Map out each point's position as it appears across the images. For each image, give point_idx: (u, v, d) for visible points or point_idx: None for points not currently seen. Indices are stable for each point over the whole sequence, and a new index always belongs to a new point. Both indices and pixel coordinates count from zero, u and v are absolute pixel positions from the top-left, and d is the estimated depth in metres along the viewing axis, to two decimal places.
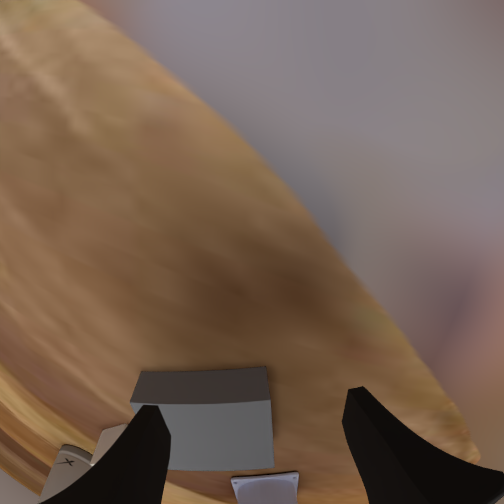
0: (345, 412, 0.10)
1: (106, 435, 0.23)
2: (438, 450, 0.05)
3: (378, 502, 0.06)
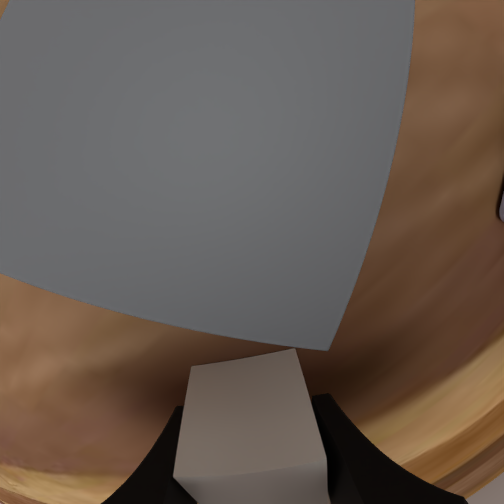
0: None
1: None
2: (397, 467, 0.05)
3: None
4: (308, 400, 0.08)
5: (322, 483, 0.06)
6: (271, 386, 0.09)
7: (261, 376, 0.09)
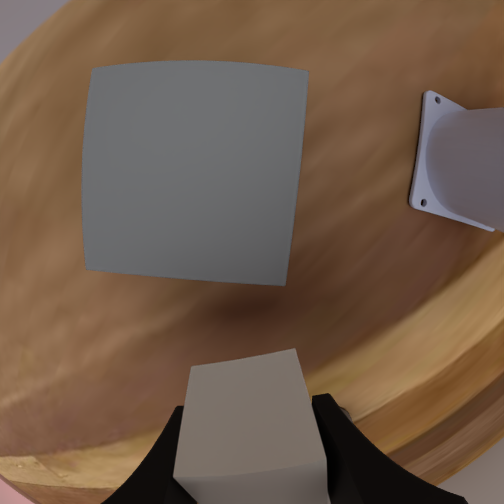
0: None
1: None
2: (397, 467, 0.05)
3: None
4: (308, 400, 0.08)
5: (322, 483, 0.06)
6: (271, 386, 0.09)
7: (261, 376, 0.09)
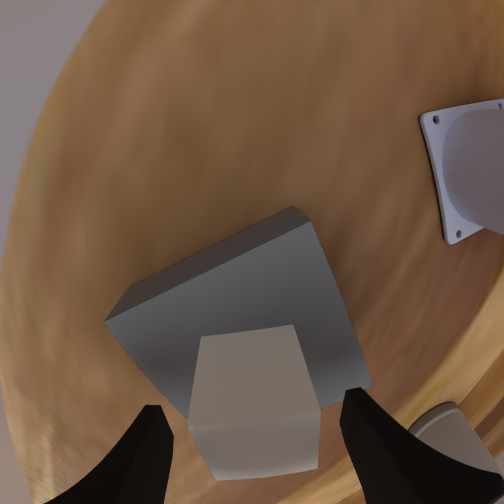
0: (342, 413, 0.10)
1: None
2: (435, 451, 0.05)
3: (375, 503, 0.06)
4: (304, 364, 0.10)
5: (315, 439, 0.08)
6: (272, 353, 0.11)
7: (264, 345, 0.11)
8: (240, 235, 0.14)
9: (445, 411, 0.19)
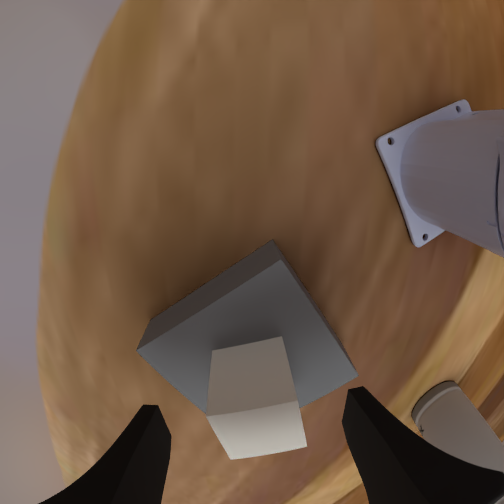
0: (345, 412, 0.10)
1: None
2: (438, 450, 0.05)
3: (378, 502, 0.06)
4: (288, 367, 0.13)
5: (299, 422, 0.12)
6: (265, 360, 0.14)
7: (259, 354, 0.15)
8: (232, 270, 0.18)
9: (444, 390, 0.22)
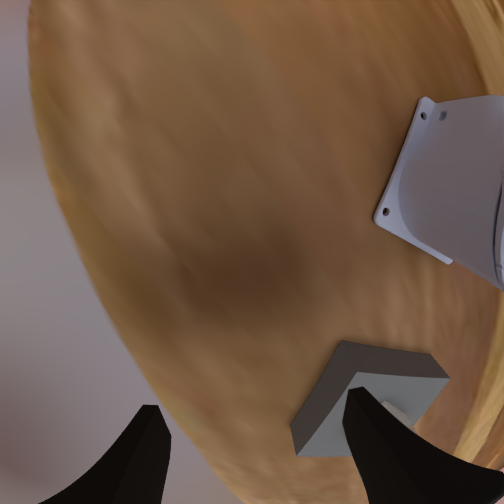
0: (345, 412, 0.10)
1: None
2: (438, 450, 0.05)
3: (378, 502, 0.06)
4: None
5: None
6: None
7: None
8: (326, 376, 0.20)
9: None
